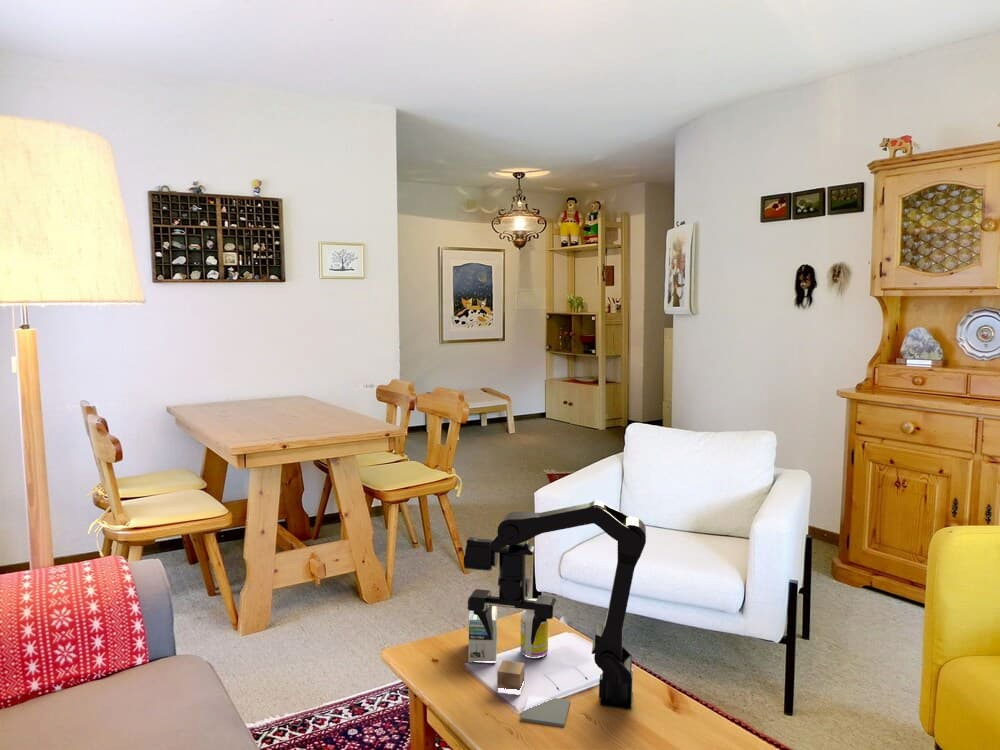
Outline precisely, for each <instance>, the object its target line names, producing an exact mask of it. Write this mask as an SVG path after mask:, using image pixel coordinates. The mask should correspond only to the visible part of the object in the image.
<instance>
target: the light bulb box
mask: <svg viewBox="0 0 1000 750" xmlns="http://www.w3.org/2000/svg"><path fill="white" fill-rule="evenodd" d="M492 623H493V638H492V640H490V639H489V636H488V634H487V632H486V630H485V627H484V625H483V623H482V622H481V620H480V619H479V617H478V615H475V614H474V613H473V611H469V614H468V663H469V662H474V661H496V662H497V653H498V606H492Z"/></svg>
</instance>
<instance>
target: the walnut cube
mask: <svg viewBox="0 0 1000 750" xmlns="http://www.w3.org/2000/svg"><path fill="white" fill-rule="evenodd" d="M525 669H526V668H525V663H524V662H518V661H511V660H502V661H501V663H500V665H499V667H498V669H497V673H496V676H497V678H496V685H497V687H496V689H497V688H504V689H505V688H506V689H517V690H520V688H521V686H522V683H523V681H524V682H525Z"/></svg>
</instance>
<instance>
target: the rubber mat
mask: <svg viewBox="0 0 1000 750" xmlns="http://www.w3.org/2000/svg"><path fill="white" fill-rule="evenodd" d="M553 698H554V699H552V700H549V701H547V702H544V703H542V704H540V705H537V706H534V707H532V708H529V709H527V710H525V711H523V710H522V712H521V715H520V718H519V721H521V722H527V723H534V724H540V725H549V726H556V727H562V728H565V726H566V721H567V718H568V714H569V710H570V707H571V706H570V705H571V699H570V700H569V699H564V698H557V697H553Z"/></svg>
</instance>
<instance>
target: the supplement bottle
mask: <svg viewBox="0 0 1000 750" xmlns="http://www.w3.org/2000/svg"><path fill="white" fill-rule="evenodd" d="M527 600H533V601H536V600H537V598H529V599H527ZM534 615H535V614H534V610H529V609H524V610H523V611H522V612H521V614H520V653H521V652H522V653H523V654H524V655H527V656H530V657H538V656H543V655H545V654H546V653H547V652H549V619H547V621H546V622H541V624H540V626H539V629H538V632H537V635H536V638H535V641H534V643H533V645H532V644H531V632H532V622H533V617H534ZM547 654H548V653H547Z"/></svg>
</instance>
